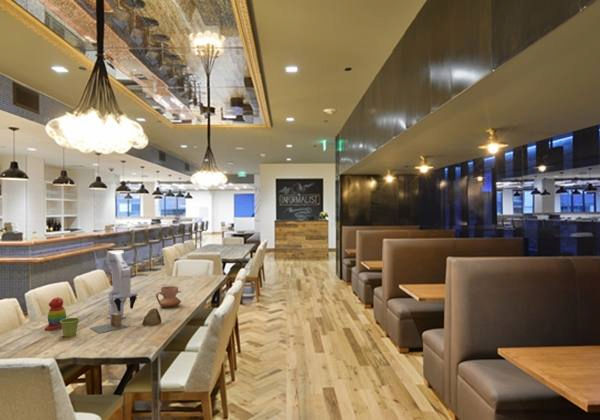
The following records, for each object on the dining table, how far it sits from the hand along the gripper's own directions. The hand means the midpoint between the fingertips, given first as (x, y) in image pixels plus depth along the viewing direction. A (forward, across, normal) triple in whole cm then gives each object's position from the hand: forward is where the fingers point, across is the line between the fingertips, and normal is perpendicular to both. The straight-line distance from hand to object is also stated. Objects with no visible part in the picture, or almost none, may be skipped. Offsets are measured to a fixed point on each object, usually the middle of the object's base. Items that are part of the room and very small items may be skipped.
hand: (125, 309), depth 229 cm
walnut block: (+8, -6, -1) cm, 10 cm away
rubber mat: (+9, -10, 0) cm, 13 cm away
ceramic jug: (+9, +40, +18) cm, 45 cm away
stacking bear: (+9, -30, +25) cm, 40 cm away
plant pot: (+9, -30, +3) cm, 31 cm away
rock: (+9, +11, -11) cm, 18 cm away
